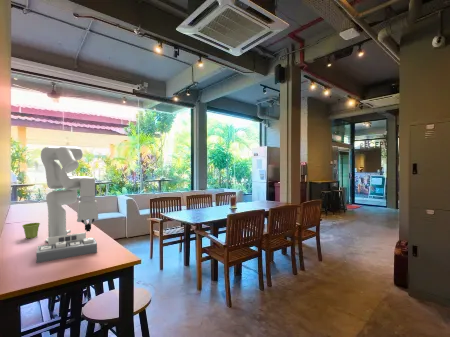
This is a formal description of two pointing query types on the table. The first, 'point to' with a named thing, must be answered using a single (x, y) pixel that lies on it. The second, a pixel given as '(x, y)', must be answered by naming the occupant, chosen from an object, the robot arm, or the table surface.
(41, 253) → the keyboard
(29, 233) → the plant pot
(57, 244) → the key
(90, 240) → the key
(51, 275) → the table surface
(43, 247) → the key
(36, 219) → the table surface
